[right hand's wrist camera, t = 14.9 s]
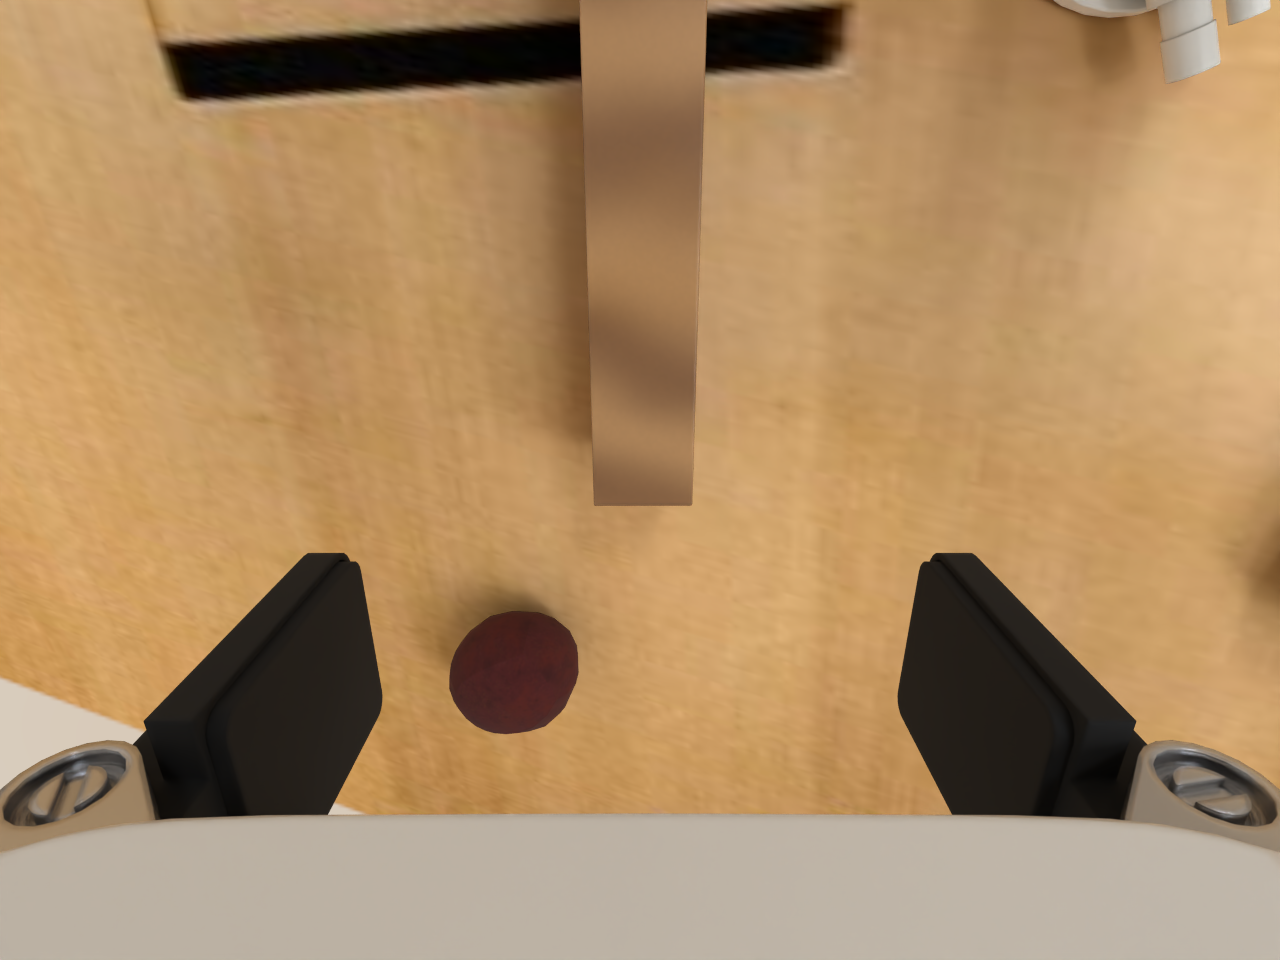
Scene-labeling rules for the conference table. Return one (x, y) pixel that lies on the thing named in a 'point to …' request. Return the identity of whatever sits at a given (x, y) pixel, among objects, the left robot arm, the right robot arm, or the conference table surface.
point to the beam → (643, 241)
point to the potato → (514, 672)
